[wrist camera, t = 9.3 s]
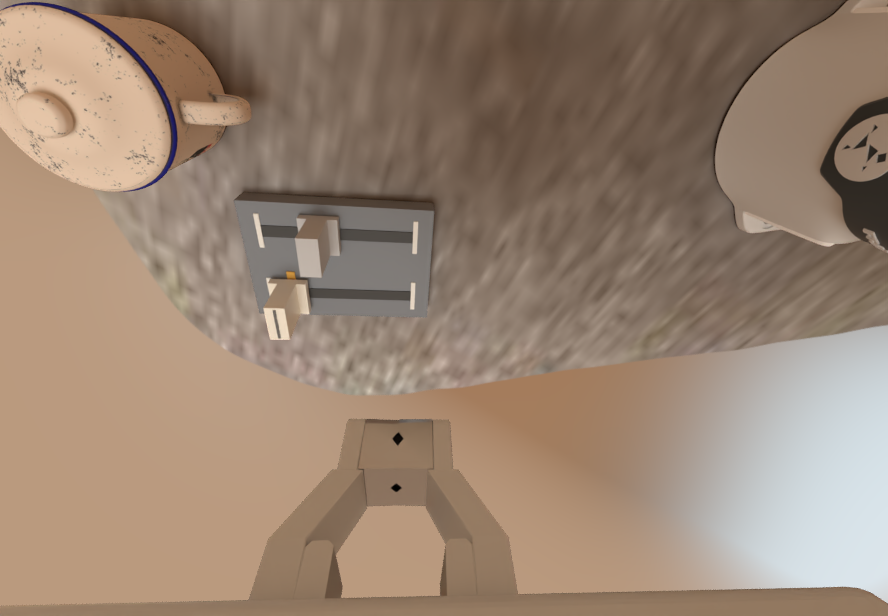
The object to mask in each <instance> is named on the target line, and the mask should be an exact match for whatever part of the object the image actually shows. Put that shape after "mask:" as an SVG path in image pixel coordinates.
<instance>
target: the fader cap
mask: <svg viewBox="0 0 888 616" xmlns="http://www.w3.org/2000/svg"><path fill="white" fill-rule="evenodd" d="M268 288H269V293H270V297H269V299H268V301H267V302H266V304H265V306H264V308H263V309H264V313H265V318H266V323H267V327H268V332H269V336H270V339H271V340H290V338H291V336H292V334H293V331H294V329H295V326H296V324H297V321H298V319H299V316H300V314H310V311H311V304H310V297H309V289H308V282H307V280H290V279H270V280H269V282H268Z"/></svg>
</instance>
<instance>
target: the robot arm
mask: <svg viewBox="0 0 888 616" xmlns="http://www.w3.org/2000/svg"><path fill="white" fill-rule="evenodd" d="M887 4H888V0H848V1H847V2H846V3H845V4H844V5H843V6H842V7H841V8H840V9H839V10H838V11H837V12H836V13H835V14H834V15H832V16H831V17H829V18H828V19H826V20H825V21H823V22H822V23H820V24H818V25H816V26H814V27H813V28H811V29H809V30H807V31H805V32H803V33H802V34H800V35H798V36H797V37H795V38H794V39H792V40H791V41H789V42H788V43H787V44H785V45H784V46H783V47H781V48H780V49H779V50H778V51H776V52H775V53H774V54H773V55H772V56H771V57H770V58H769V59H768V60H767V61H765V62H764V63H763V64H762V66H761V67H760V68H759V69H758V70H757V71H756V72H755V73H754V74H753V75H752V77H751V78H750V79H749V80H748V82H747V83H746V84H745V86H744V87H743V88H742V90H741V91H740V93H739V94H738V96H737V97H736V99H735V101H734V102H733V104H732V106H731V108H730V110H729V111H728V114H727V116H726V118H725V120H724V123H723V125H722V128H721V131H720V134H719V137H718V141H717V146H716V153H715V169H716V175H717V179H718V182H719V184H720V186H721V188H722V190H723V191H724V193H725V194H726V195H727V196H728V197H729V199H730V200H731V201H732V203H733V205H734V207H735V219H736V224H737V226H738V228H739V229H740V230H743V231H745V232H748V233H759V232H766V231H773V230H781V229H782V230H784V231H787V232H789V233H792V234H794V235H797V236H799V237H802V238H804V239H807V240H809V241H811V242H814V243H816V244H819V245H823V246H832V245H834V244H844V243H851V242H855V241H859V240H863V241H865V242H867V243H870V244H872V245H874V247H876V248H877V249H880V250H882V251H884V252H887V253H888V7H887ZM450 429H451V428H450V422H449V420H432V419H406V420H403V419H401V420H378V419H349V420H348V422H347V425H346V430H345V435H344V440H343V444H342V449H341V454H340V459H339V463H338V468H337V470H331V471H330V472H329V474H328V475H327V476H326V477H325V478H324V479H323V480H322V481H321V482H320V483H319V485H318V486H317V487H316V488H315V489H314V490H313V491H312V492H311V493H310V494H309V495H308V497H306V499H305V500H304V501H303V502H302V503H301V504H300V505H299V506H298V507H297V509H295V511H294V512H293V513H292V514H291V515H290V516H289V517H288V518H287V519H286V520H285V521H284V523H283V524H282V525H281V526H280V527H279V528H278V529H277V530H276V531H275V532H274V533H273V535H272V536H271V537H270V538H269V539H268V541H267V545H266V548H265V551H264V554H263V557H262V560H261V563H260V566H259V570H258V573H257V576H256V579H255V582H254V585H253V588H252V591H251V594H250V597H249V600H242V601H241V600H238V601H194V602H154V603H153V602H149V603H108V604H107V603H106V604H64V605H62V604H61V605H20V606H19V605H18V606H0V616H888V603H886V602H884V601H883V600H881V599H880V598H878V597H877V596H875V595H874V594H872V593H870V592H868V591H865V590H862V589H859V588H851V587H826V588H824V587H823V588H781V589H780V588H778V589H734V590H689V591H688V590H687V591H647V592H646V591H645V592H644V591H643V592H602V593H601V592H599V593H598V592H597V593H551V594H518V591H517V585H516V580H515V574H514V567H513V562H512V556H511V550H510V544H509V538H508V536H507V535H506V533H505V532H504V530H503V529H502V528H501V526H500V525H499V524H498V522H497V521H496V520H495V518H494V517H493V516H492V514H491V513H490V512H489V510H488V509H487V508H486V506H485V505H484V504H483V502H482V501H481V500H480V498H479V497H478V496H477V494H476V493H475V491H474V490H473V489H472V488H471V486H470V485H469V483H468V482H467V481H466V479H465V478H464V477H463V476H462V474H461V473H460V471H459V470H455V469H453V459H452V443H451V430H450ZM390 505H406V506H408V505H409V506H410V505H411V506H426V509H427V511H428V513H429V514H430V516H431V518H432V520H433V522H434V524H435V525H436V527H437V529H438V531H439V533H440V535H441V536H442V538H443V540H444V542H445V544H446V546H445V553H444V560H443V567H442V574H441V581H440V596H416V597H371V598H341V594H342V582H341V577H340V573H339V568H338V563H337V559H336V553H337V552H338V551H339V549H340V548H341V546H342V545H343V543H344V542H345V540H346V539H347V537H348V535H349V534H350V533H351V531H352V530H353V528H354V527H355V525H356V524H357V522H358V521H359V519H360V518H361V516H362V515H363V514H364V512H365V511H366V509H367V506H390Z"/></svg>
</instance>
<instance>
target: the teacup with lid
mask: <svg viewBox="0 0 888 616" xmlns="http://www.w3.org/2000/svg"><path fill="white" fill-rule="evenodd" d="M250 118H251V109H250V105H249V103H248V102H247V101H246V100H245V99H243V98H241V97H238V96H233V95H227V94H225V93H224V90H223V87H222V84H221V82H220V80H219V78H218V76H217V74H216V72H215V70H214V69H213V67H212V65H211V64H210V63H209V61H208V60H207V59H206V57H205V56H204V55H203V54H202V53H201V52H200V50H199V49H198V48H197V47H196V46H195V45H193V44H192V43H191V42H190V41H189V40H188V39H186V38H185V37H184V36H182V35H181V34H179V33H178V32H176V31H174V30H173V29H171V28H169V27H167V26H165V25H162V24H160V23H157V22H154V21H150V20H145V19H138V18H128V17H119V16H109V15H99V14H89V13H80V12H77V11H74V10H72V9H69V8H66V7H62V6H59V5H55V4H49V3H40V2H27V3H20V4H15V5H12V6H9V7H6V8H4V9H2V10H1V11H0V127H1V128H2V130H3V131H4V132H5V133H6V134H7V135H8V137H9V138H10V139H11V140H12V141H13V142H14V143H15V144H16V145H17V146H18V147H19V148H20V149H22V150H23V151H24V152H25V153H26V154H27V155H28V156H30V157H31V158H32V159H33V160H35V161H36V162H37V163H39V164H40V165H42V166H43V167H45V168H46V169H48V170H50V171H51V172H53V173H55V174H56V175H58V176H60V177H62V178H64V179H66V180H69V181H71V182H74V183H76V184H79V185H82V186H85V187H89V188H93V189H97V190H102V191H115V192H127V191H135V190H139V189H143V188H146V187H148V186H150V185H152V184H154V183H156V182H157V181H158V180H160V179H161V178H162V177H163V176H164V175H165V174H166V173H167V171H169V170H171V169H173V168H175V167H177V166H179V165H181V164H183V163H185V162H187V161H189V160H191V159H193V158H195V157H196V156H198V155H200V154H202V153H204V152H206V151H208V150H209V149H211V148H212V147H213V146H214V145H215V144H216V143H217V142H218V141H219V139H220V138H221V136H222V134H223V132H224V130H225V126H226V125H238V124H243V123H245V122H247V121H249V120H250Z"/></svg>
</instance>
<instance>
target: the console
mask: <svg viewBox="0 0 888 616" xmlns="http://www.w3.org/2000/svg"><path fill="white" fill-rule="evenodd" d="M234 203H235V207H236V212H237V216H238V221H239V225H240V229H241V234H242V238H243V243H244V247H245V251H246V256H247V260H248V265H249V269H250V273H251V278H252V282H253V287H254V291H255V295H256V300H257V304H258V308H259V313H264V309H263V308H264V306H265V304H266V302H267V301H268V299H269V297H270V293H269V288H268V282H269V280H270V279H290V280H307V282H308V289H309V297H310V304H311V311H310V314H305V315H346V316H388V317H427V309H428V294H429V280H430V265H431V251H432V236H433V222H434V206H433V203H426V202H408V201H390V200H372V199H354V198H336V197H318V196H300V195H282V194H264V193H246V192H243V193H242V194H240V195H239V196H238V197H237V198H236V199H235V200H234ZM264 314H265V313H264Z"/></svg>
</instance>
